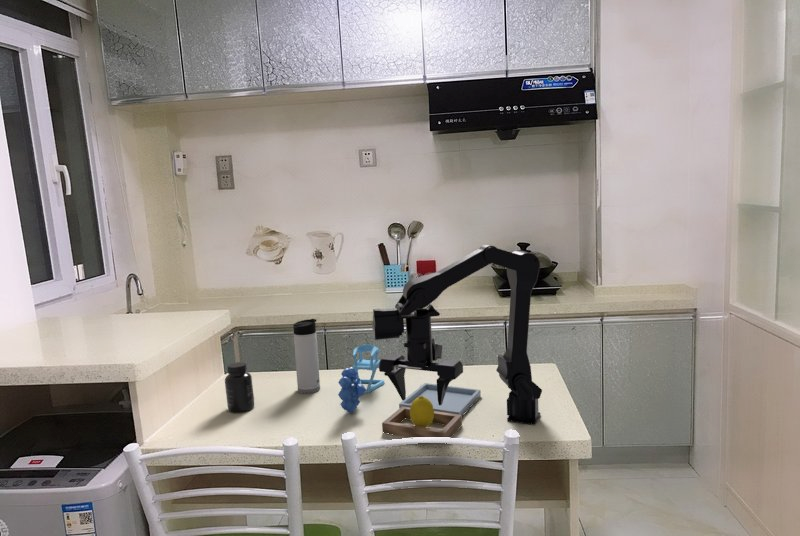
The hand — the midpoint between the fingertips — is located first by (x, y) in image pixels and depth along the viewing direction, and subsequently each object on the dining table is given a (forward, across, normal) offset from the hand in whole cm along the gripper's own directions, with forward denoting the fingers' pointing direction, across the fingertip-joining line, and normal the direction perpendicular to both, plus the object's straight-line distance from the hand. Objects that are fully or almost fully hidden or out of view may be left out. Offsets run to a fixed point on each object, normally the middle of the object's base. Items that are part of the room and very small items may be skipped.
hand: (421, 402), depth 128 cm
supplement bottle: (+7, +50, +5) cm, 51 cm away
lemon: (+7, 0, 0) cm, 7 cm away
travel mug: (+7, +41, -13) cm, 44 cm away
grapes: (+7, +20, -3) cm, 21 cm away
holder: (+6, 0, 0) cm, 7 cm away
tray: (+6, +2, -16) cm, 17 cm away
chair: (+7, +26, -20) cm, 33 cm away
